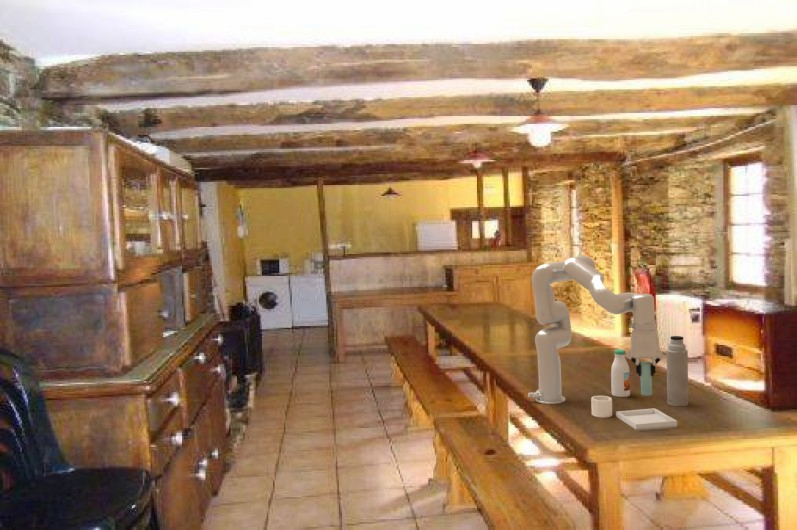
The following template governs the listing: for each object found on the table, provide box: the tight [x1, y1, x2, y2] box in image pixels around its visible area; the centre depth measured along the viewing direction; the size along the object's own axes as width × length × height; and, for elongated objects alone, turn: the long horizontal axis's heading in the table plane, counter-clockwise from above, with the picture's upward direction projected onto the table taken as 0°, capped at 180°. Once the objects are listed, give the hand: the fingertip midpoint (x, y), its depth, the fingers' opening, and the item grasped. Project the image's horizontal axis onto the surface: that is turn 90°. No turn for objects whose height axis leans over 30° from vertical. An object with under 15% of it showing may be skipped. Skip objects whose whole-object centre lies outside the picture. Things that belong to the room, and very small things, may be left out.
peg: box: [639, 361, 653, 397], centre depth 242 cm, size 4×4×12 cm
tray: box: [615, 408, 678, 432], centre depth 244 cm, size 16×16×2 cm
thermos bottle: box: [666, 335, 689, 407], centre depth 264 cm, size 8×8×28 cm
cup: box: [590, 395, 613, 418], centre depth 254 cm, size 8×8×7 cm
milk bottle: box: [610, 348, 631, 398], centre depth 281 cm, size 8×8×20 cm
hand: (645, 374), depth 242 cm, fingers closed on peg, 4 cm apart
